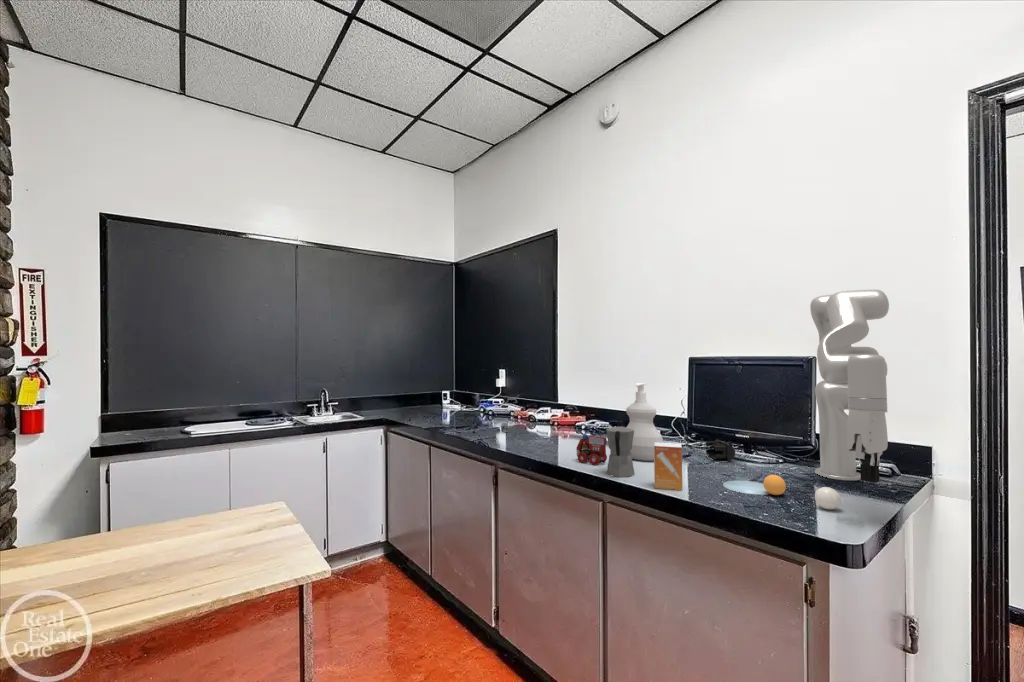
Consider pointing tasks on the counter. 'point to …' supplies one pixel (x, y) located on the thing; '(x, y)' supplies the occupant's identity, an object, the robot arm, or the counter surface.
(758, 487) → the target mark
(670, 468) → the small box
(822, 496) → the white egg
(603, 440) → the toy fire truck
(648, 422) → the soap bottle
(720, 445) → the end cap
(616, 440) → the coffeepot
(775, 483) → the object ball
